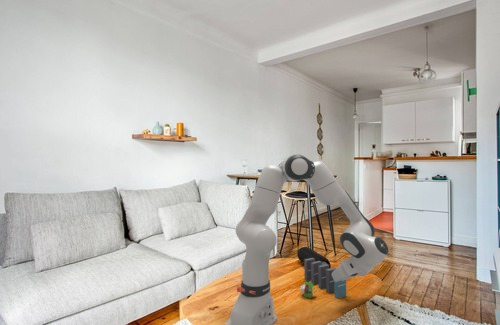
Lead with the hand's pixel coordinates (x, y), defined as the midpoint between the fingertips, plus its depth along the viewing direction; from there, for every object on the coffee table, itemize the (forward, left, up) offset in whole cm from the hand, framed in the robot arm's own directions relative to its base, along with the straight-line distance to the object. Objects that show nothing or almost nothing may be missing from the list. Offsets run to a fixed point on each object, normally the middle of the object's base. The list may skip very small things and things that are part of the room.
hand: (343, 279), depth 131 cm
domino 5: (+1, +2, -9) cm, 9 cm away
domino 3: (+7, +11, -9) cm, 16 cm away
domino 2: (+10, +16, -9) cm, 20 cm away
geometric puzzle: (-6, +15, -9) cm, 18 cm away
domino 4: (+4, +6, -9) cm, 12 cm away
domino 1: (+13, +20, -9) cm, 26 cm away
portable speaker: (+30, +24, -9) cm, 39 cm away
